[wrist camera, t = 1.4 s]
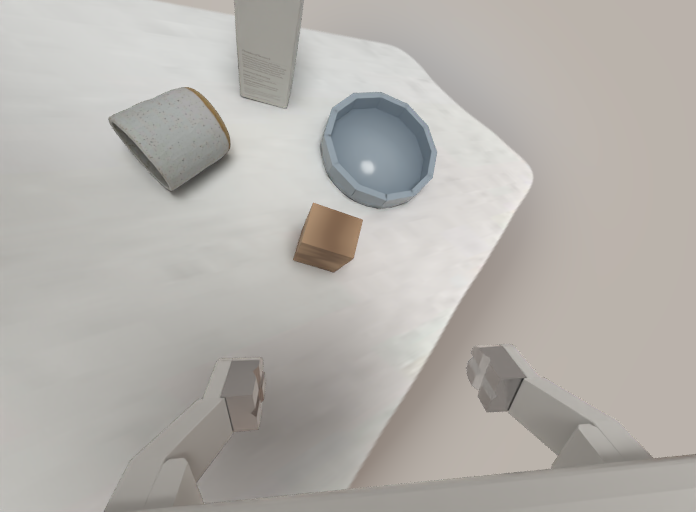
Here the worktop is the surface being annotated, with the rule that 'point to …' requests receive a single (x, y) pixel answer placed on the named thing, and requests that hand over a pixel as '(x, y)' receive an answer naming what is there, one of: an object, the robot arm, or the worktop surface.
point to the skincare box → (267, 48)
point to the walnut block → (328, 238)
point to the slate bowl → (377, 150)
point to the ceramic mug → (173, 135)
